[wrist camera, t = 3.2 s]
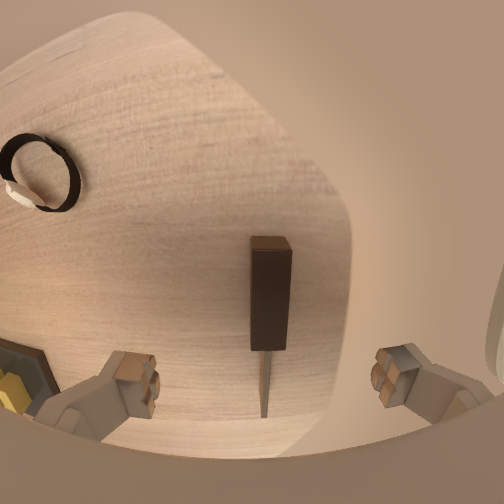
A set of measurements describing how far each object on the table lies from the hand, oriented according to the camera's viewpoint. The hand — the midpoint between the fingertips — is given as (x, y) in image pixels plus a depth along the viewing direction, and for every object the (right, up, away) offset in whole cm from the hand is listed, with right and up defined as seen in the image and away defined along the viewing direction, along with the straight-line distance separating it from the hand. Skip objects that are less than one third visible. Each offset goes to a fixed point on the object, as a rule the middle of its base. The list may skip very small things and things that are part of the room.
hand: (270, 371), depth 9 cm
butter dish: (-29, -9, +11) cm, 32 cm away
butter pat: (-25, -10, +10) cm, 28 cm away
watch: (-15, +10, +6) cm, 19 cm away
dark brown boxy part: (0, -1, +9) cm, 9 cm away
